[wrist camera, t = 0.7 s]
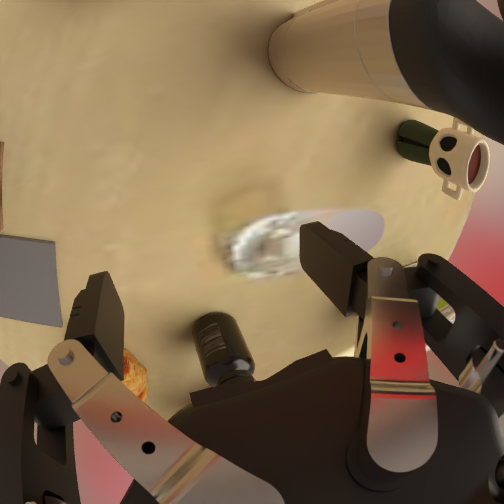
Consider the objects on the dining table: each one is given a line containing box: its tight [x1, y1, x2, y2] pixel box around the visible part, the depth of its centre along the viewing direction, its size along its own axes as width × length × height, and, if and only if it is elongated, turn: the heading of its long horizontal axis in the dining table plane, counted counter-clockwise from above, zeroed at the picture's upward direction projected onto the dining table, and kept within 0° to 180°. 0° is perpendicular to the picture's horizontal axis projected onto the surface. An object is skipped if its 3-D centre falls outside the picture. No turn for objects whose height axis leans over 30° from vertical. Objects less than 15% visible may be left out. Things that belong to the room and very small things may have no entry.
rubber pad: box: [0, 235, 63, 327], centre depth 26 cm, size 13×12×1 cm
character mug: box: [397, 117, 490, 200], centre depth 29 cm, size 11×7×13 cm, turn 0°
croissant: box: [121, 349, 148, 403], centre depth 36 cm, size 21×10×8 cm, turn 6°
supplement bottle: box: [193, 313, 255, 387], centre depth 36 cm, size 7×7×12 cm
